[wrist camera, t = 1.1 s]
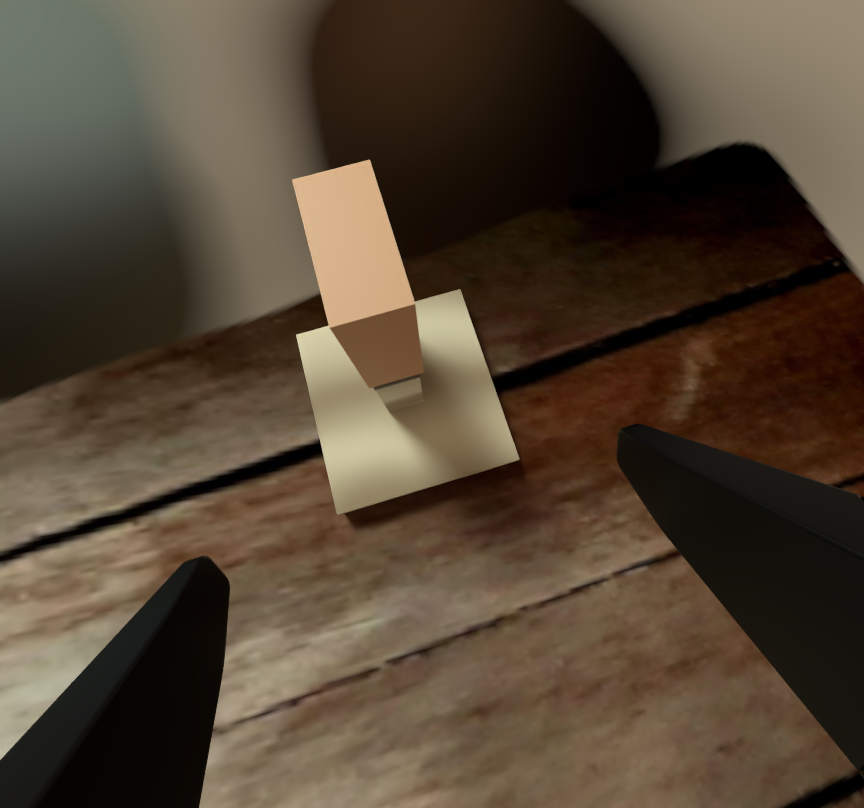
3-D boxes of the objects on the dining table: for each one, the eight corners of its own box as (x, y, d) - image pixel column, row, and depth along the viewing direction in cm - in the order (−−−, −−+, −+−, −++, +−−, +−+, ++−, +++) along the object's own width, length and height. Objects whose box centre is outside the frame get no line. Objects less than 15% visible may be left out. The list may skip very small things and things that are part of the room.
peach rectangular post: (423, 372, 16) (415, 304, 10) (369, 388, 16) (329, 327, 10) (393, 272, 17) (369, 159, 11) (342, 286, 17) (292, 179, 11)
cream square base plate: (514, 461, 22) (543, 449, 16) (344, 513, 21) (306, 521, 15) (458, 301, 24) (465, 237, 18) (305, 344, 24) (258, 293, 18)
